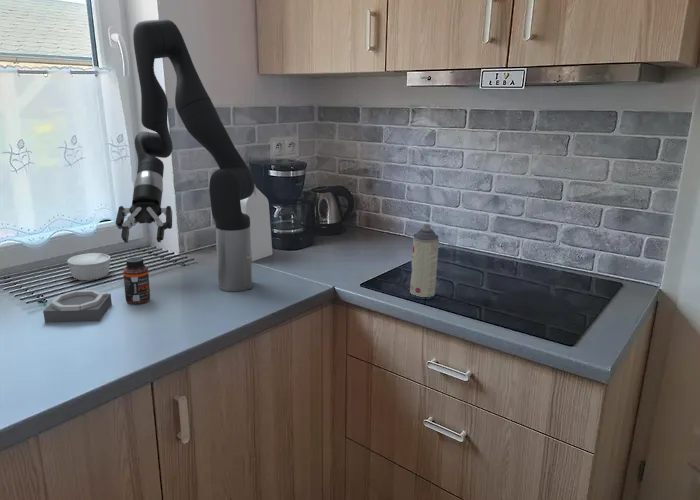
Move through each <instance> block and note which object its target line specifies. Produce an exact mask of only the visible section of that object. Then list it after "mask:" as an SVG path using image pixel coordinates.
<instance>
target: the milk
mask: <svg viewBox="0 0 700 500" xmlns="http://www.w3.org/2000/svg"><path fill="white" fill-rule="evenodd" d="M254 184H255V182H254ZM240 203H241V211H242V213H244V214H247V215H248V216H249V217H250V234H251V251H252V262H254V261H257V260H260V259H264V258H266V257H269V256H272V255H273V245H272V244H273V243H272V241H273V240H272V230H271V217H270V203H269V199H268V198H267V196H266V195H265V194H263V193H262V192H261V191H260V189H258V187H256V184H255V187H254V191H253V193H252V195H251V196H250V197H248V198H246V199H243V200H240Z"/></svg>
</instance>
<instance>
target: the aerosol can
mask: <svg viewBox="0 0 700 500" xmlns="http://www.w3.org/2000/svg"><path fill="white" fill-rule="evenodd" d="M412 238H413V239H412V249H411V250H412V252H411V254H412V255H411V269H410V283H409V294H410V293H411V294H413V295H416V296H420V297H431V296H434V295H436V286H437V285H436V284H437V270H438V259H439V257H438V256H439V245H440V239H439V235H438V234H436V232H435V231H434V230H433V229H432V228H431V224H430V223H423V227H422V228H421V229H420V230H419V231H417V232H415V233H414V234H413V237H412Z"/></svg>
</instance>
